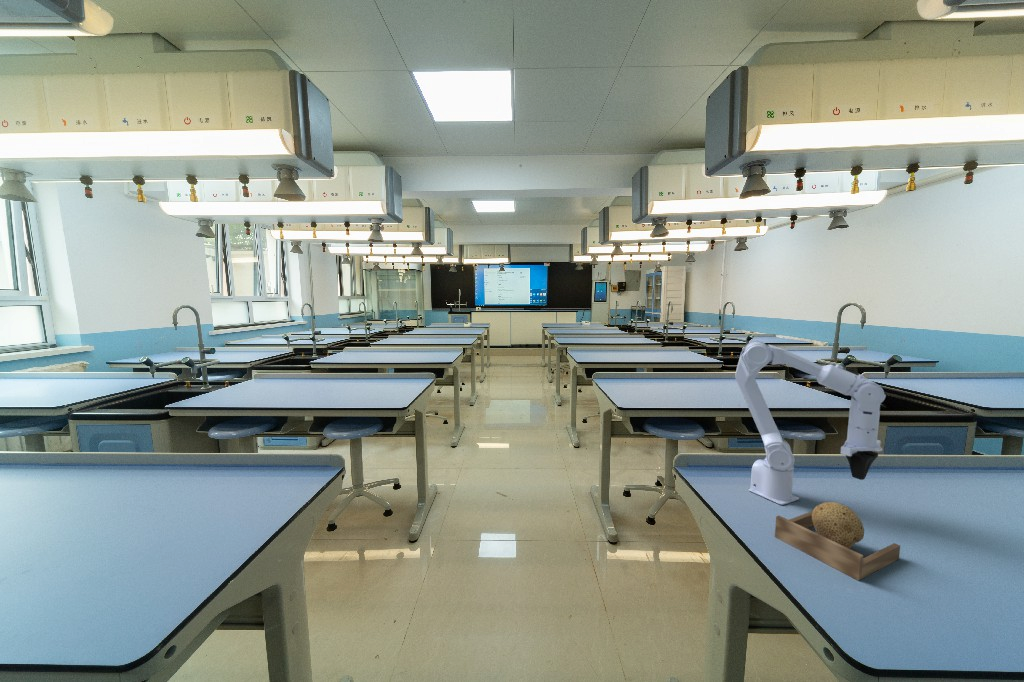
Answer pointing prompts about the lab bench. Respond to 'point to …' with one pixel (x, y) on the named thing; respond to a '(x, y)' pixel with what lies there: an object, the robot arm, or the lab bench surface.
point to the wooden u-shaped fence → (832, 548)
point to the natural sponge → (838, 523)
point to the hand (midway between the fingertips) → (858, 478)
